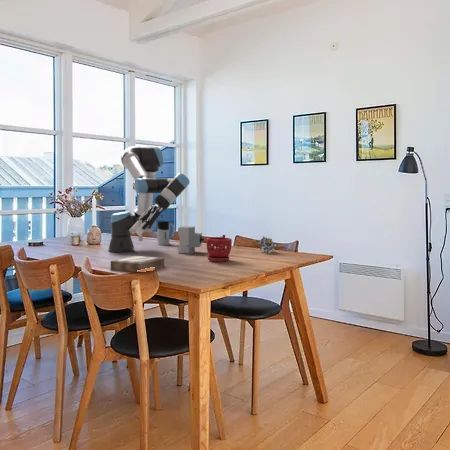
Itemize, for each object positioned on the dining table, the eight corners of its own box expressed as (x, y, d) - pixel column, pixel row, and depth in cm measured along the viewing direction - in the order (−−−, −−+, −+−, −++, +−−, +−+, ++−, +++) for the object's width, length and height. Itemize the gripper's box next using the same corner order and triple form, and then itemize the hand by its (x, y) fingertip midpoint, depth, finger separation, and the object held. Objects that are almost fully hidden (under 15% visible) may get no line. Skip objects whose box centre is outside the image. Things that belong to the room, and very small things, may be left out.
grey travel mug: (163, 243, 322) (162, 221, 321) (178, 244, 314) (178, 222, 313) (154, 244, 315) (153, 222, 314) (169, 245, 307) (169, 223, 306)
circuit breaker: (201, 253, 272) (201, 227, 271) (178, 253, 275) (177, 227, 273) (204, 251, 279) (204, 226, 278) (181, 251, 282) (181, 226, 281)
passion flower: (268, 262, 272) (262, 247, 266) (256, 257, 280) (249, 242, 274) (281, 250, 277) (275, 235, 270) (268, 245, 285) (262, 230, 278)
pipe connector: (131, 239, 231) (130, 219, 231) (151, 239, 232) (151, 219, 232) (129, 242, 222) (128, 221, 221) (150, 241, 222) (149, 220, 222)
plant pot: (223, 263, 238) (223, 239, 237) (201, 261, 245) (201, 238, 244) (236, 260, 249) (236, 237, 248) (215, 258, 256) (215, 236, 255)
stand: (110, 269, 222) (110, 260, 221) (135, 263, 238) (134, 255, 237) (141, 272, 213) (140, 263, 213) (164, 266, 229) (164, 257, 229)
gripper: (178, 205, 223) (147, 240, 217) (162, 204, 242) (133, 236, 236) (167, 194, 220) (135, 229, 214) (152, 193, 240) (122, 226, 234)
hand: (134, 233), depth 225 cm, fingers closed on pipe connector, 10 cm apart
